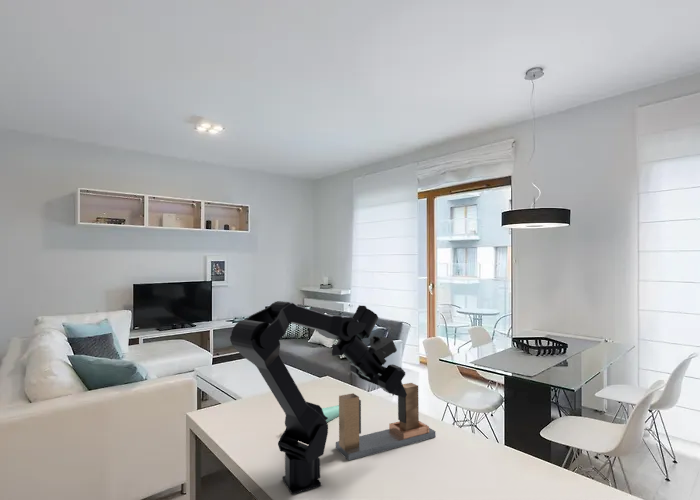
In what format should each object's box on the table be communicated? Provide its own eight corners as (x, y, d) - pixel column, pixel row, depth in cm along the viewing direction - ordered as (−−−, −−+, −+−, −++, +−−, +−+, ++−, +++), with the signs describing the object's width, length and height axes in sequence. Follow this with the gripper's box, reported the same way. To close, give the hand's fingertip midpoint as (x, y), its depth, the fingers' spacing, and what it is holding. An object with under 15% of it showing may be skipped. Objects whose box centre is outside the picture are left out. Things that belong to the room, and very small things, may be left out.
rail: (348, 460, 91) (348, 402, 91) (335, 448, 97) (335, 393, 97) (435, 437, 103) (434, 385, 103) (419, 427, 109) (418, 378, 109)
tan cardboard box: (404, 435, 101) (404, 388, 101) (397, 430, 103) (397, 385, 104) (418, 431, 103) (418, 385, 103) (411, 427, 105) (411, 382, 106)
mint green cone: (363, 390, 125) (306, 416, 104) (363, 407, 125) (306, 437, 103) (349, 387, 128) (292, 412, 107) (349, 404, 128) (292, 432, 107)
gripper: (398, 333, 91) (435, 375, 96) (359, 323, 108) (393, 359, 112) (369, 372, 87) (409, 413, 92) (334, 355, 104) (370, 390, 109)
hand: (395, 391), depth 101 cm, fingers open, 9 cm apart
